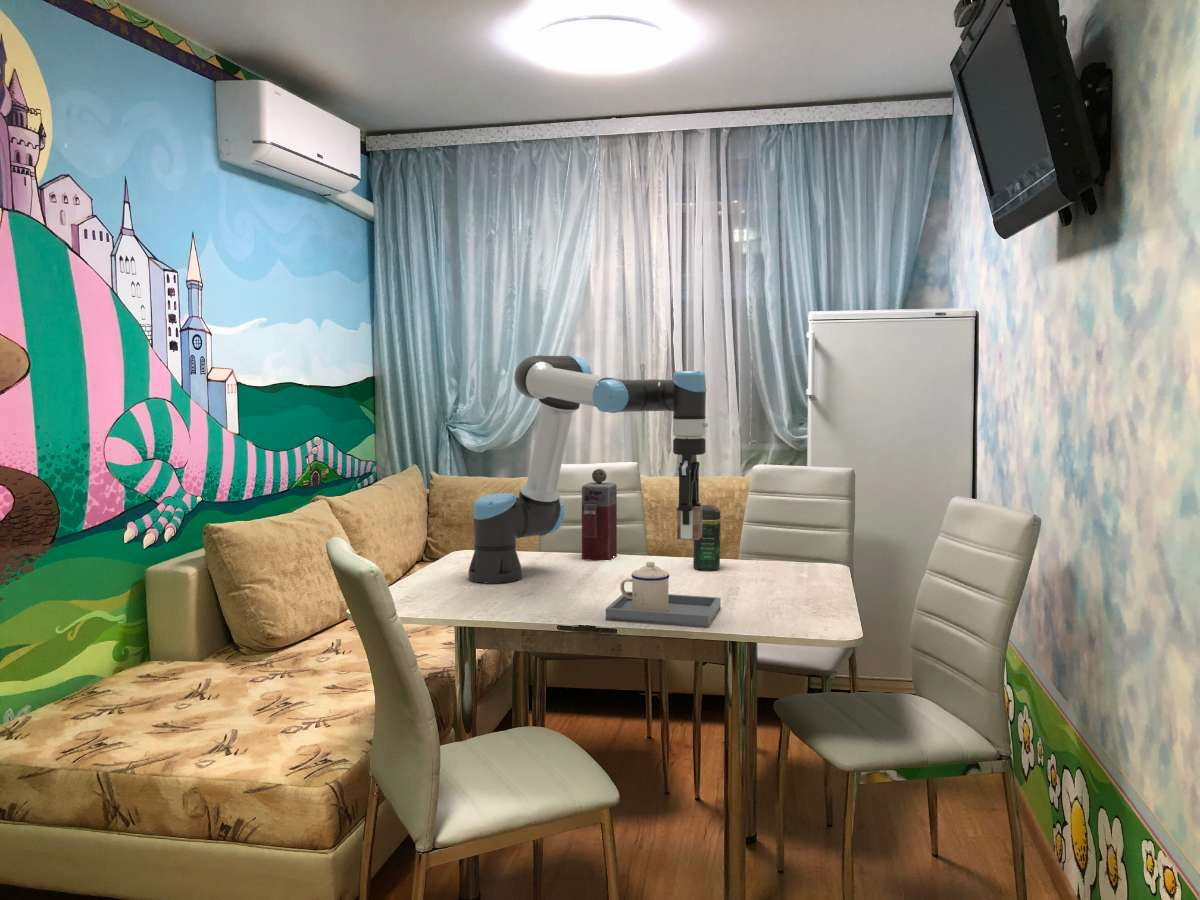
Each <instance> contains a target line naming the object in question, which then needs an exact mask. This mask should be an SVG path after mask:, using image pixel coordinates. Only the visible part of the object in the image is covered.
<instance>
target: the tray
mask: <svg viewBox="0 0 1200 900" xmlns="http://www.w3.org/2000/svg"><path fill="white" fill-rule="evenodd" d="M625 592H626V593H627V594H628V595H630V596H632V591H628V590H627V591H626V590H625ZM719 609H720V610H721V597H719V596H701V595H689V594H672V593H671V594H670V593H668V611H667V612H659V611H645V610H633V609H632V599H628V598H626V597H625V596H624V595H623V594H622V593H621V594H620V595H619V596H618V598H616V599H615V600H613V601H612V602H611V603H610V604H609V605H608V606H607V607H606V608H605V620H606V621H617V622H631V623H632V622H633V623H645V624H655V625H656V624H657V625H658V624H659V625H668V626H669V625H670V626H681V627H682V626H684V627H685V626H686V627H695V628H709V627H710V626H711V624H712V623H711V622H713V621H714V620H715V618H716V616H717V614H718V613H719V611H720V610H719ZM717 612H718V613H717ZM714 617H715V618H714Z"/></svg>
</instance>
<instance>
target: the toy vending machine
mask: <svg viewBox="0 0 1200 900" xmlns="http://www.w3.org/2000/svg"><path fill="white" fill-rule="evenodd" d="M607 474H608V473H607V472H606V471H605V470H604V468H597V469H595V470H594V471H592V474H591V478H592V480H593V481H591V482H588V483H585V484H582V486H581V560H582V559H591V560H590V561H598V560H610V561H612V560H613V559H614V558H613V556H616V557H617V553H618V551H617V549H618V548H617V545H618V544H617V543H618V542H617V538H618V535H617V534H618V530H617V529H618V527H617V526H618V525H617V524H618V522H617V521H618V520H617V517H618V516H617V512H618V511H617V507H618V506H617V505H618V503H617V502H618V500H617V497H618V496H617V495H618V491H617V489H618V488H617V483H615V482H605V481H606V479H607ZM612 558H613V559H612ZM611 559H612V560H611Z"/></svg>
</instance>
